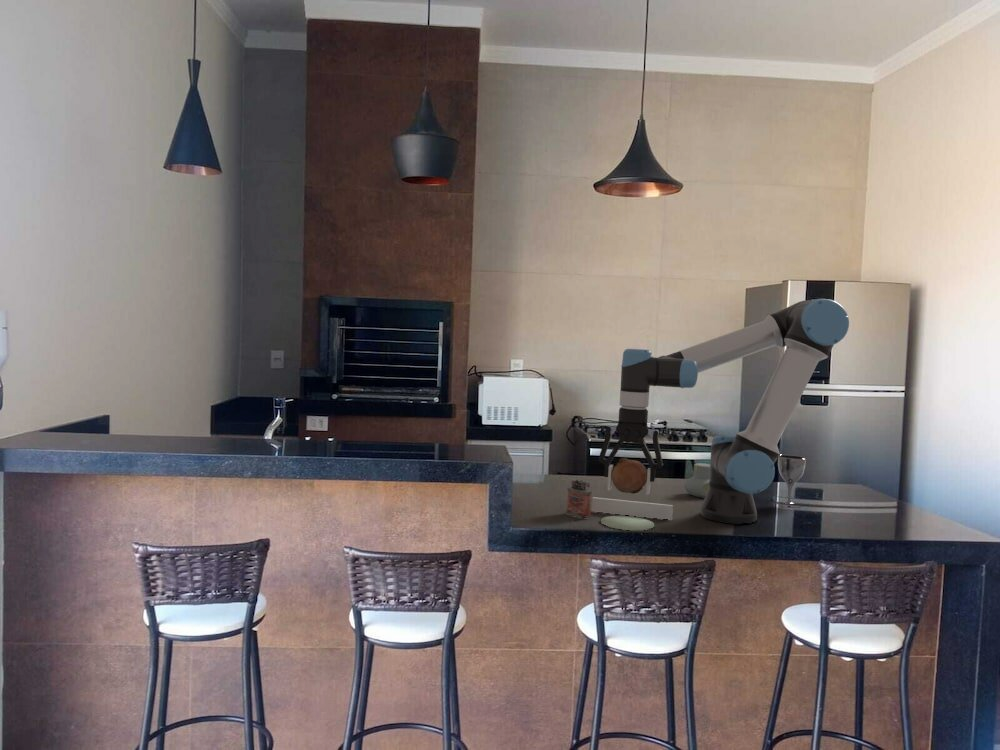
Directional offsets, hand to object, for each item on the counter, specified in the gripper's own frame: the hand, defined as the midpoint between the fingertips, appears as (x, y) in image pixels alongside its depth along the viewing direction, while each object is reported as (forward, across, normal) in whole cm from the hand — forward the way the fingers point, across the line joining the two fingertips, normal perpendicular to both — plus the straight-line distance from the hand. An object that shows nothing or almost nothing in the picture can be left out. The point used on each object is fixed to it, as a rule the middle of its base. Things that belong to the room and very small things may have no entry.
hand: (628, 491), depth 209 cm
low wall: (+9, 0, -10) cm, 13 cm away
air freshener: (+9, -18, -47) cm, 51 cm away
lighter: (+9, +14, -3) cm, 17 cm away
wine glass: (+9, -44, -46) cm, 64 cm away
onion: (0, 0, 0) cm, 0 cm away
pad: (+9, 0, 0) cm, 9 cm away
